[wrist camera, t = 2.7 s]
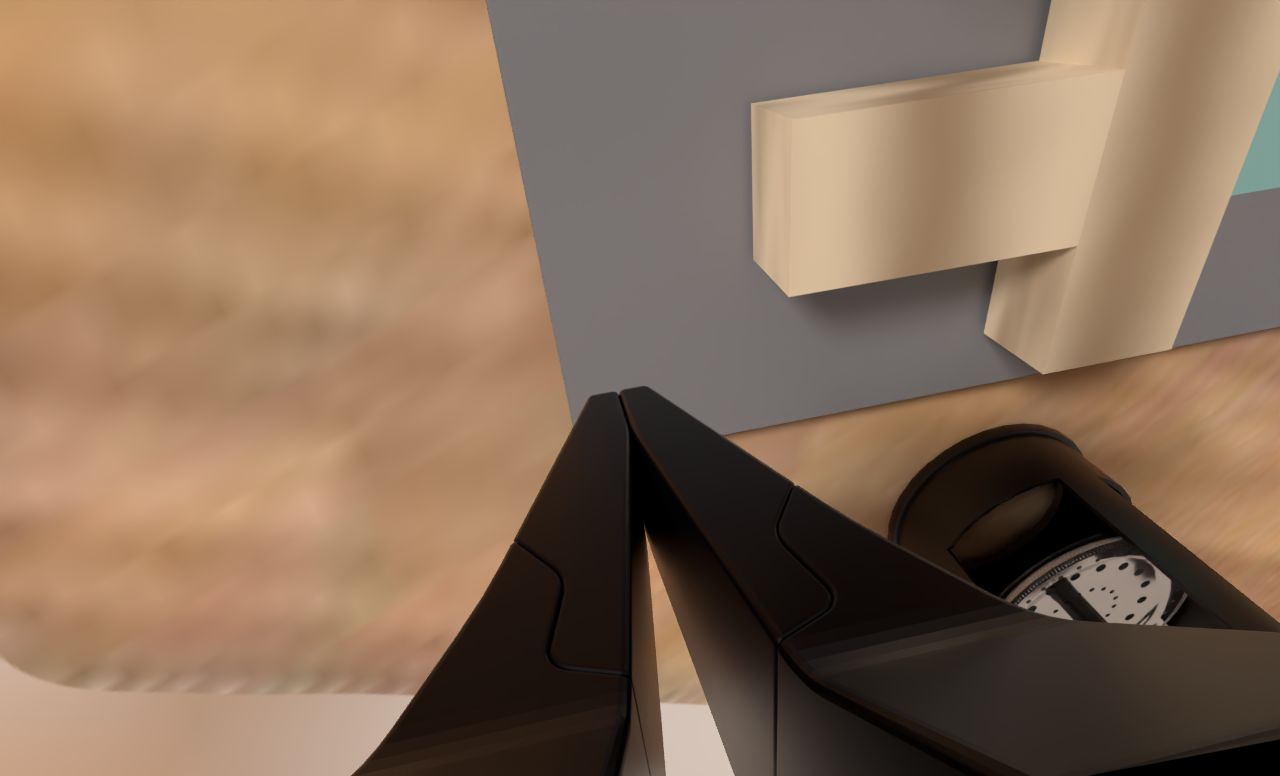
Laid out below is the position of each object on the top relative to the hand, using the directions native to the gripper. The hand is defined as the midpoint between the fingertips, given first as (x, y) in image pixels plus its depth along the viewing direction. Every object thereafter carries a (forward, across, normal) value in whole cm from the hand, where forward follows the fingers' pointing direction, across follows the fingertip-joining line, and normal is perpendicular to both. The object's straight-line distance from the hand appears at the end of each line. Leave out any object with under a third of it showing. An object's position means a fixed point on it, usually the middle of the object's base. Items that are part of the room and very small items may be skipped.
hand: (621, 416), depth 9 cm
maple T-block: (+11, -12, 0) cm, 16 cm away
